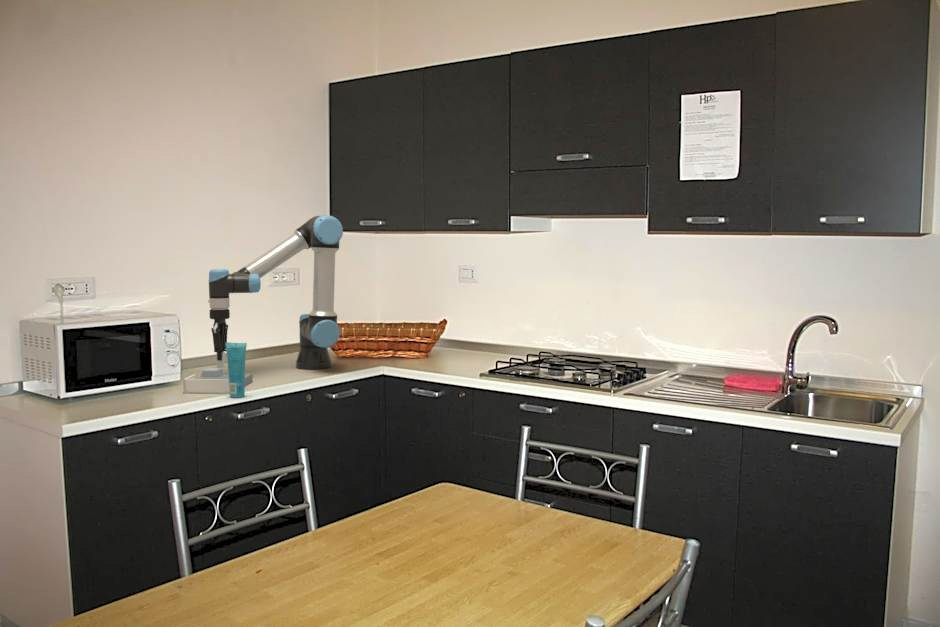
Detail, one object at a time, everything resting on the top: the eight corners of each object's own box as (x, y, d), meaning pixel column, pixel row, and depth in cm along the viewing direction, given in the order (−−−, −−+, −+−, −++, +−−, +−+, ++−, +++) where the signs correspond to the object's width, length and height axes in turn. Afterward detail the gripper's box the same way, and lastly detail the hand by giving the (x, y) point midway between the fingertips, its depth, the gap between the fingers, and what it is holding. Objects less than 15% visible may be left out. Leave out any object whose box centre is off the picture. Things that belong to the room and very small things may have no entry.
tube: (249, 395, 289) (247, 341, 287) (246, 397, 284) (245, 343, 282) (227, 395, 288) (226, 341, 286) (224, 398, 284) (223, 343, 282)
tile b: (222, 374, 313) (222, 368, 313) (217, 377, 307) (217, 370, 307) (207, 374, 314) (207, 367, 313) (201, 377, 308) (201, 370, 307)
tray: (242, 388, 302) (241, 374, 301) (233, 393, 291) (232, 379, 291) (194, 387, 302) (193, 374, 302) (183, 393, 292) (183, 379, 291)
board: (252, 381, 315) (252, 374, 315) (242, 388, 302) (242, 380, 302) (206, 381, 315) (206, 373, 315) (194, 387, 302) (194, 379, 302)
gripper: (215, 307, 324) (217, 365, 327) (204, 310, 312) (205, 370, 314) (234, 307, 324) (235, 365, 327) (223, 310, 311) (224, 371, 314)
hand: (220, 368), depth 320 cm, fingers closed
